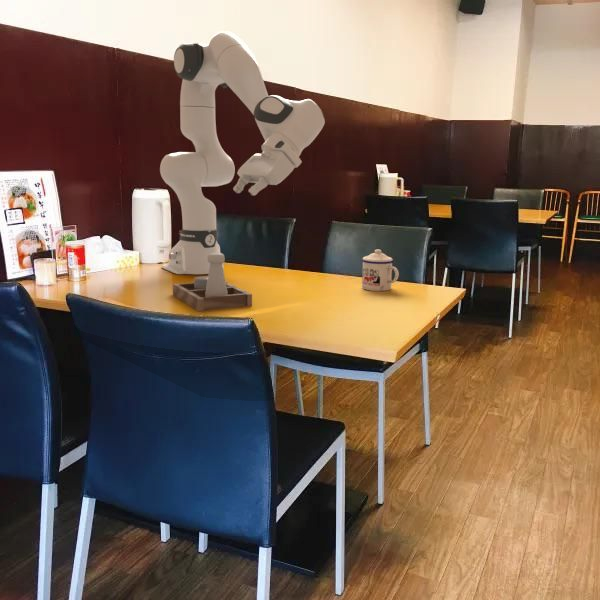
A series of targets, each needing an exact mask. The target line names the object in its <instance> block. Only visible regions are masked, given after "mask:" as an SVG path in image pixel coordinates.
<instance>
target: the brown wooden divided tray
mask: <svg viewBox="0 0 600 600" xmlns="http://www.w3.org/2000/svg"><path fill="white" fill-rule="evenodd" d="M225 282H226V281H225ZM226 287H227V292H228V295H221V296H210V297H206V296H205V292H206V289H198V290H194V282H186V283H185V282H184V283H173V284H172V296H174V297H176V298H177V299H179V300H180V301H182V302H184V303H185V304H186V305H188V306H189V307H191V308H193V309H194V310H196V311H198V312H207V311H216V310H217V311H218V310H219V311H220V310H226V309H235V308H236V309H237V308H245V307H252V306H253V294H252V293H250V292H248V291H246V290H244V289H242V288H240V287H238V286H236V285H234V284H231V283H229V282H226Z"/></svg>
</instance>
